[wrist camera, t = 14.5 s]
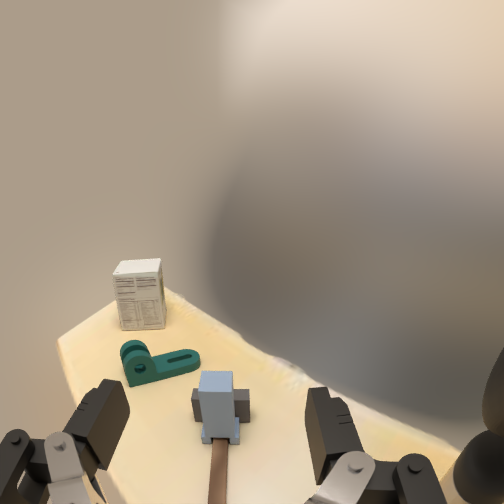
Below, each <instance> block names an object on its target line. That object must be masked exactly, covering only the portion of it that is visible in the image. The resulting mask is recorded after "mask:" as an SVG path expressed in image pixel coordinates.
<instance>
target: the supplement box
mask: <svg viewBox="0 0 504 504" xmlns="http://www.w3.org/2000/svg"><path fill="white" fill-rule="evenodd" d="M112 276H113V283H114V289H115V295H116V301H117V306H118V312H119V317H120V322H121V327H122V330H149V329H164V328H165V319H166V303H165V295H164V286H163V276H162V266H161V258H159V259H142V260H126V261H121V262H120V263H119V265H118V267H117V268H116V270H115V271H114V273H113V274H112Z"/></svg>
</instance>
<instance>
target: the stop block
mask: <svg viewBox="0 0 504 504" xmlns="http://www.w3.org/2000/svg"><path fill="white" fill-rule="evenodd" d="M233 391H234V408H235V417H239V422H250V398H249V389H233ZM191 401H192V407H193V412H194V418H195V421H198V422H203V420H202V414H201V407H200V401H199V395H198V389H197V388H193V393H192V397H191Z"/></svg>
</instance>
